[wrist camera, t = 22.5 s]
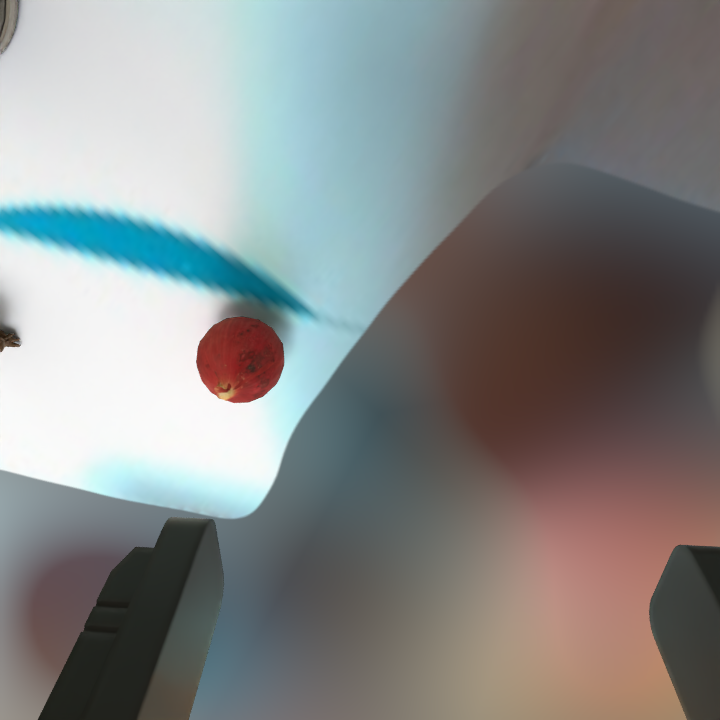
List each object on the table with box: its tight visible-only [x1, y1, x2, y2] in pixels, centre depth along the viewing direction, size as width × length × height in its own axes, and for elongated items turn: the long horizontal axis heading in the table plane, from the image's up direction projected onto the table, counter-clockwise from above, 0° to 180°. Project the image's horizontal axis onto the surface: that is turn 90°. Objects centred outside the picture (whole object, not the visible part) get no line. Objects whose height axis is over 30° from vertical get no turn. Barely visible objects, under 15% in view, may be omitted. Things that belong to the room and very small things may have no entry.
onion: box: [196, 317, 284, 403], centre depth 40 cm, size 6×6×8 cm
